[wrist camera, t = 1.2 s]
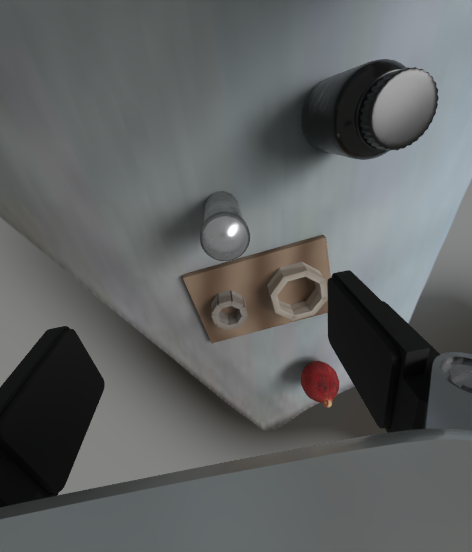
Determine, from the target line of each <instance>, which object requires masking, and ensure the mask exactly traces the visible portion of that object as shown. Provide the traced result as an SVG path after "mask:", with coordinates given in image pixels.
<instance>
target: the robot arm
mask: <svg viewBox="0 0 472 552" xmlns="http://www.w3.org/2000/svg"><path fill="white" fill-rule="evenodd" d="M327 286H328V338H329V342H330V344H331V346H332V348H333V349H334V351H335V353H336V355H337V356H338V358H339V360H340V361H341V363H342V365H343V367H344V368H345V370H346V372H347V374H348V375H349V377H350V379H351V380H352V382H353V384H354V386H355V387H356V389H357V391H358V393H359V394H360V396H361V398H362V399H363V401H364V403H365V405H366V406H367V408H368V410H369V411H370V413H371V415H372V417H373V418H374V420H375V422H376V423H377V425H378V426H379V427H380V428H385V429H386V431H387V432H388V433H382V434H376V435H371V436H365V437H359V438H353V439H347V440H341V441H335V442H330V443H324V444H319V445H313V446H309V447H303V448H298V449H292V450H287V451H282V452H277V453H271V454H266V455H261V456H256V457H250V458H245V459H240V460H235V461H230V462H224V463H219V464H214V465H209V466H204V467H199V468H194V469H188V470H184V471H178V472H173V473H168V474H163V475H158V476H153V477H148V478H143V479H138V480H133V481H128V482H123V483H118V484H112V485H108V486H103V487H98V488H93V489H88V490H83V491H78V492H73V493H68V494H63V495H58V493H59V492H60V491H61V490H62V489H63V488H64V486H65V484H66V481H67V479H68V477H69V474H70V472H71V469H72V467H73V464H74V461H75V459H76V457H77V454H78V452H79V449H80V447H81V444H82V442H83V440H84V437H85V435H86V432H87V430H88V427H89V425H90V422H91V420H92V417H93V415H94V412H95V410H96V407H97V405H98V403H99V400H100V397H101V395H102V393H103V390H104V380H103V378H102V376H101V374H100V373H99V371H98V369H97V367H96V366H95V364H94V363H93V361H92V359H91V357H90V356H89V354H88V352H87V351H86V349H85V347H84V345H83V344H82V342H81V340H80V339H79V337H78V335H77V334H76V332H75V331H74V330H73V329H70V328H69V327H67V326H63V327H58V328H53V329H49V330H47V331H46V332H45V333H44V334H43V336H42V337H41V338H40V339H39V340H38V342H37V343H36V344H35V345H34V347H33V348H32V349H31V350H30V352H29V353H28V354H27V355H26V356H25V358H24V359H23V360H22V361H21V363H20V364H19V365H18V366H17V367H16V369H15V370H14V371H13V372H12V374H11V375H10V376H9V377H8V378H7V380H6V381H5V382H4V383H3V385H2V386H1V387H0V552H472V355H471V354H466V353H459V352H448V353H444V354H441V355H440V354H439V353H438V352H437V351H436V350H435V349H434V348H433V347H432V346H431V345H430V344H429V343H428V342H427V341H425V340H424V339H423V338H422V337H421V336H420V335H419V334H418V333H417V332H416V331H415V330H414V329H413V328H412V327H411V326H410V325H409V324H408V323H407V322H406V321H405V320H404V319H403V318H401V317H400V316H399V315H398V314H397V313H396V312H395V311H394V310H393V309H392V308H391V307H390V306H389V305H388V304H387V303H385V302H383V301H381V300H380V299H379V298H378V297H377V296H376V295H375V294H374V293H373V292H372V291H371V290H370V289H369V288H368V287H367V286H366V285H365V284H364V283H363V282H362V281H360V280H359V279H358V278H357V277H356V276H355V275H354V274H353V273H352V272H351V271H343V272H338V273H333V275H332V278H329V279H328V282H327ZM57 495H58V496H57Z"/></svg>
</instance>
